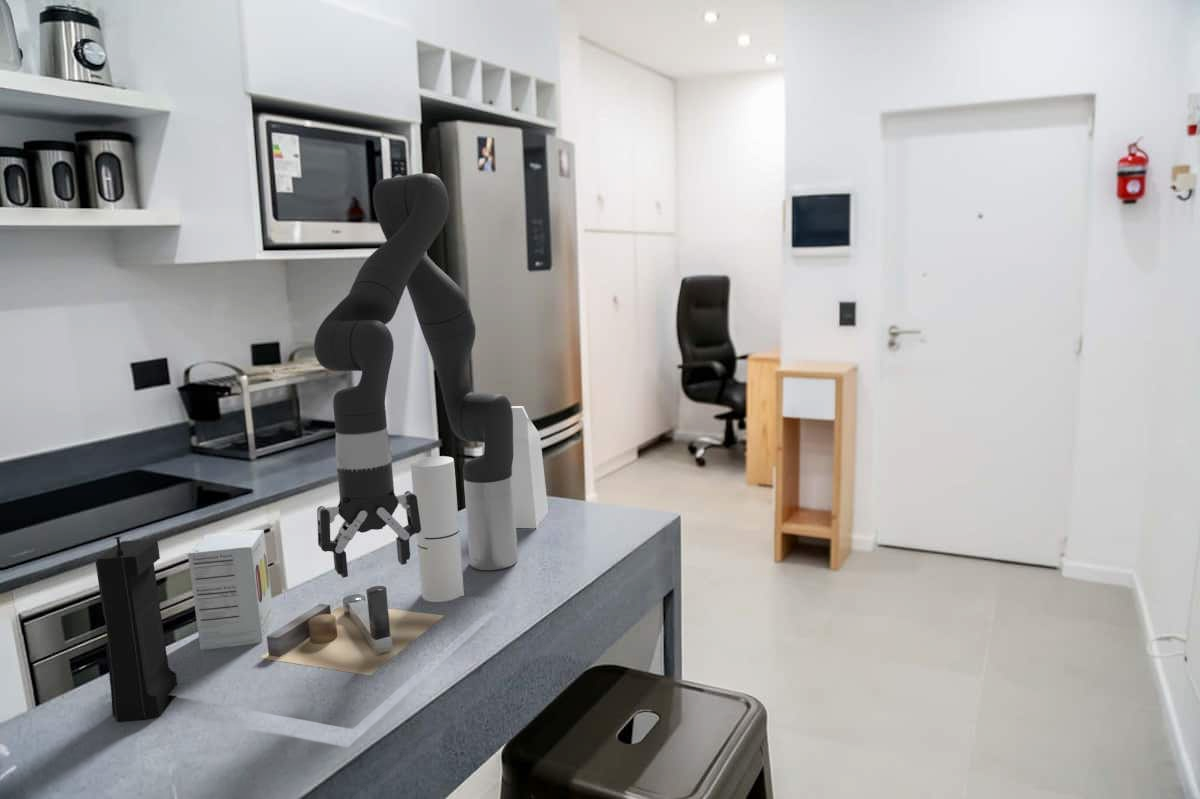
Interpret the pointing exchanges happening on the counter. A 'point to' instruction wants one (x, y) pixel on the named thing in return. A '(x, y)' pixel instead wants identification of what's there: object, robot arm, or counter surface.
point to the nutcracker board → (344, 641)
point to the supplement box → (231, 589)
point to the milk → (527, 472)
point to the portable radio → (134, 631)
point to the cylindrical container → (438, 528)
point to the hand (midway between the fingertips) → (373, 569)
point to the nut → (322, 629)
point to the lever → (371, 617)
